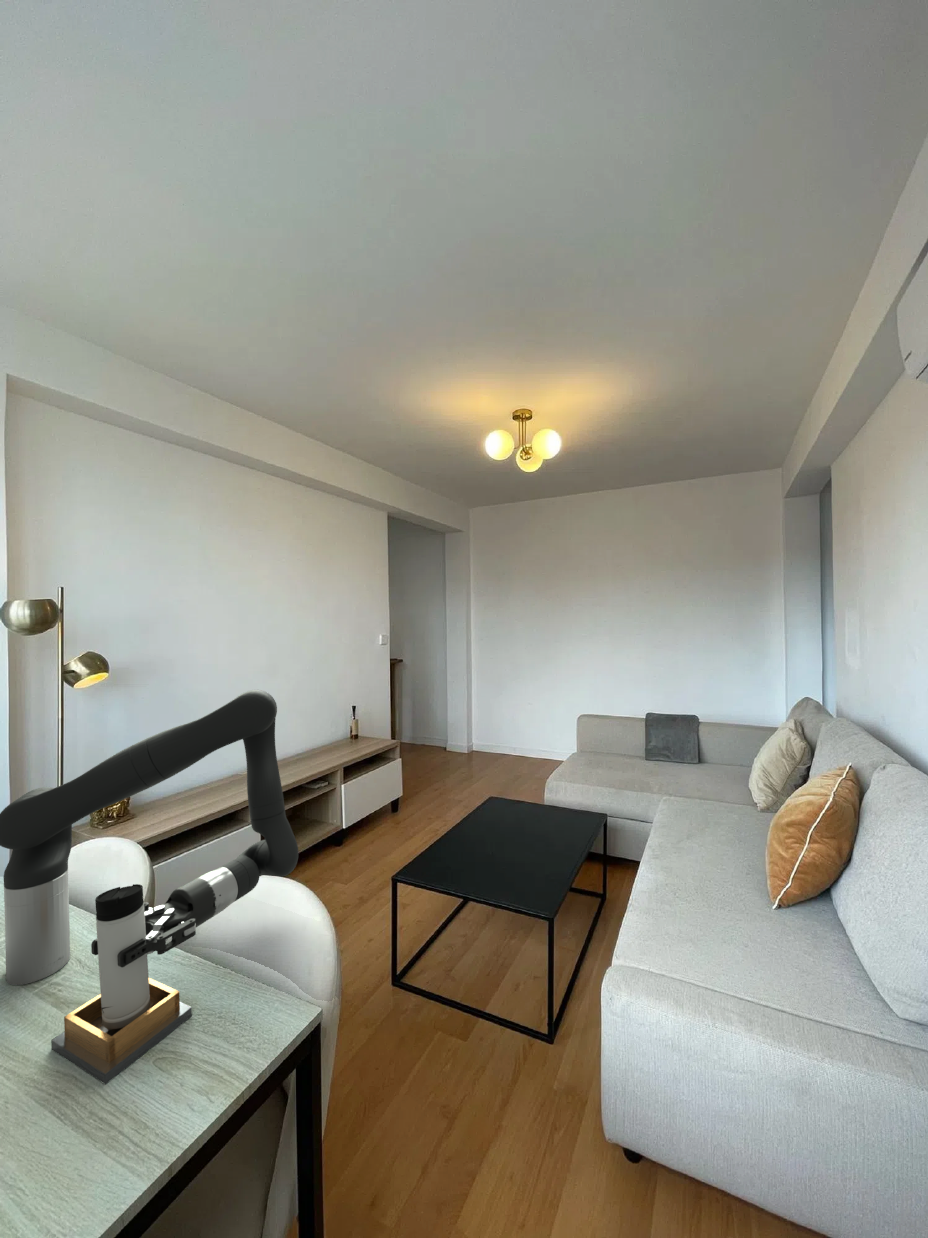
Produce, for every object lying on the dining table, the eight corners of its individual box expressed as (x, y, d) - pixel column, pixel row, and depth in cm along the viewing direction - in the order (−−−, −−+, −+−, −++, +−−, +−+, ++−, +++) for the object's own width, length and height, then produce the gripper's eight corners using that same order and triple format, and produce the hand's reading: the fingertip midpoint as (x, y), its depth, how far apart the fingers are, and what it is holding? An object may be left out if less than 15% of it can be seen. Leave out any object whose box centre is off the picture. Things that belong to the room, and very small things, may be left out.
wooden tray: (51, 1050, 75) (50, 1020, 75) (139, 991, 87) (138, 965, 87) (105, 1084, 69) (104, 1052, 69) (191, 1016, 81) (191, 988, 81)
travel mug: (94, 1037, 74) (85, 905, 74) (112, 1004, 80) (105, 882, 80) (141, 1026, 76) (133, 896, 76) (155, 994, 82) (148, 875, 82)
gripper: (177, 870, 94) (78, 920, 79) (230, 885, 88) (133, 942, 73) (179, 909, 94) (79, 966, 79) (232, 927, 88) (135, 993, 73)
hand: (106, 955), depth 76 cm, fingers closed on travel mug, 6 cm apart
